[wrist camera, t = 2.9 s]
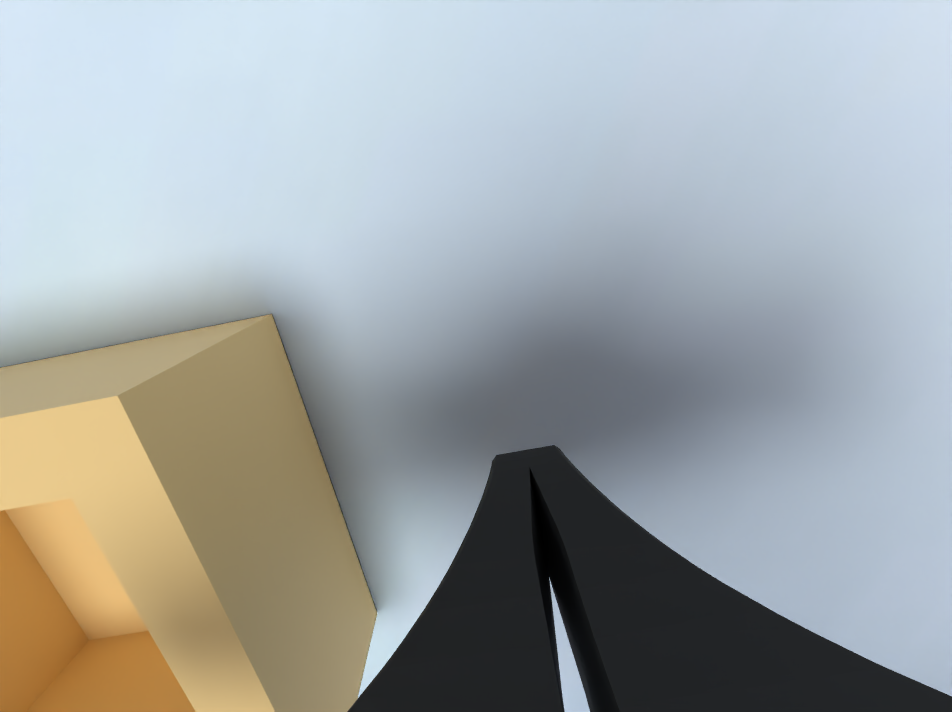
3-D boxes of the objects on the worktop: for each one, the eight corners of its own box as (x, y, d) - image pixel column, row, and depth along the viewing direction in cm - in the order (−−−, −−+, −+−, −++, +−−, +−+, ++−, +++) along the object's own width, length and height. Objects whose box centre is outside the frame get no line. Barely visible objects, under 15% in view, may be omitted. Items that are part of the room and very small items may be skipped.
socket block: (272, 313, 10) (117, 395, 6) (376, 613, 13) (329, 819, 8) (-97, 386, 10) (-500, 513, 6) (85, 659, 13) (-102, 878, 9)
